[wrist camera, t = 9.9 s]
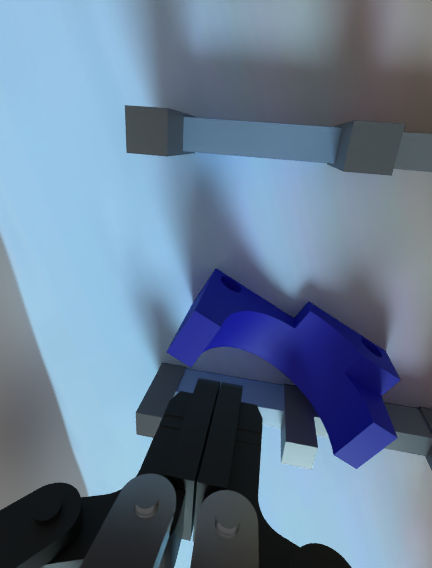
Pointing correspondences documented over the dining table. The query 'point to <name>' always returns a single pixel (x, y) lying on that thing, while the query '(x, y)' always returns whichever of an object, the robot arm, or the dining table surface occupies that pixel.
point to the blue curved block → (300, 360)
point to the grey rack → (289, 146)
